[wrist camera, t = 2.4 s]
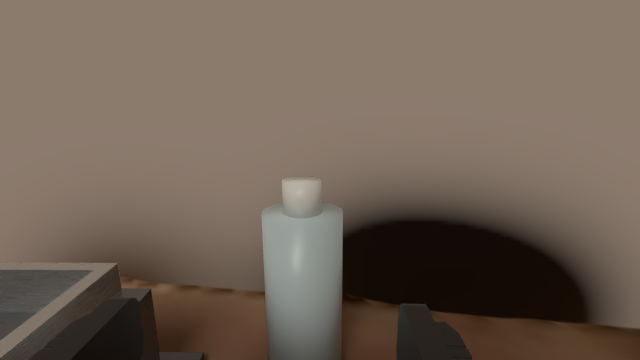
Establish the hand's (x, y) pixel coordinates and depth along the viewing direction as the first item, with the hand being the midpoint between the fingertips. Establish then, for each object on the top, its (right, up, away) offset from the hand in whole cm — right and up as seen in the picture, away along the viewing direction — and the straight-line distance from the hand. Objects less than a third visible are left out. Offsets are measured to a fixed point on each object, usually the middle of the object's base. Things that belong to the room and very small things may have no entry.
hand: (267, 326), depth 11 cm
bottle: (+1, -8, +14) cm, 16 cm away
